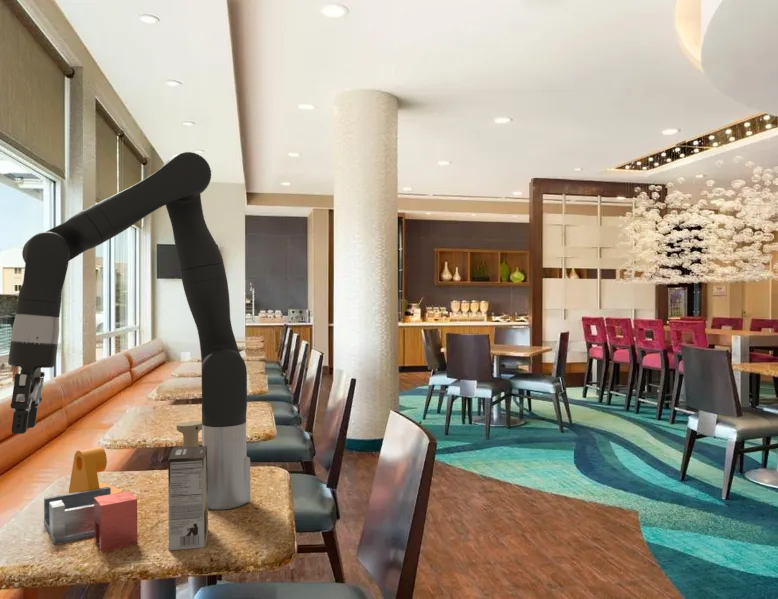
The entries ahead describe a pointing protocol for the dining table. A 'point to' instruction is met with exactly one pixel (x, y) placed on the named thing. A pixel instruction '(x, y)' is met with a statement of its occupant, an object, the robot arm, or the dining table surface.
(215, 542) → the dining table surface
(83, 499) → the bracket
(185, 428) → the handle
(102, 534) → the block
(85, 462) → the bracket
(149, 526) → the dining table surface
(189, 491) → the coffee box
